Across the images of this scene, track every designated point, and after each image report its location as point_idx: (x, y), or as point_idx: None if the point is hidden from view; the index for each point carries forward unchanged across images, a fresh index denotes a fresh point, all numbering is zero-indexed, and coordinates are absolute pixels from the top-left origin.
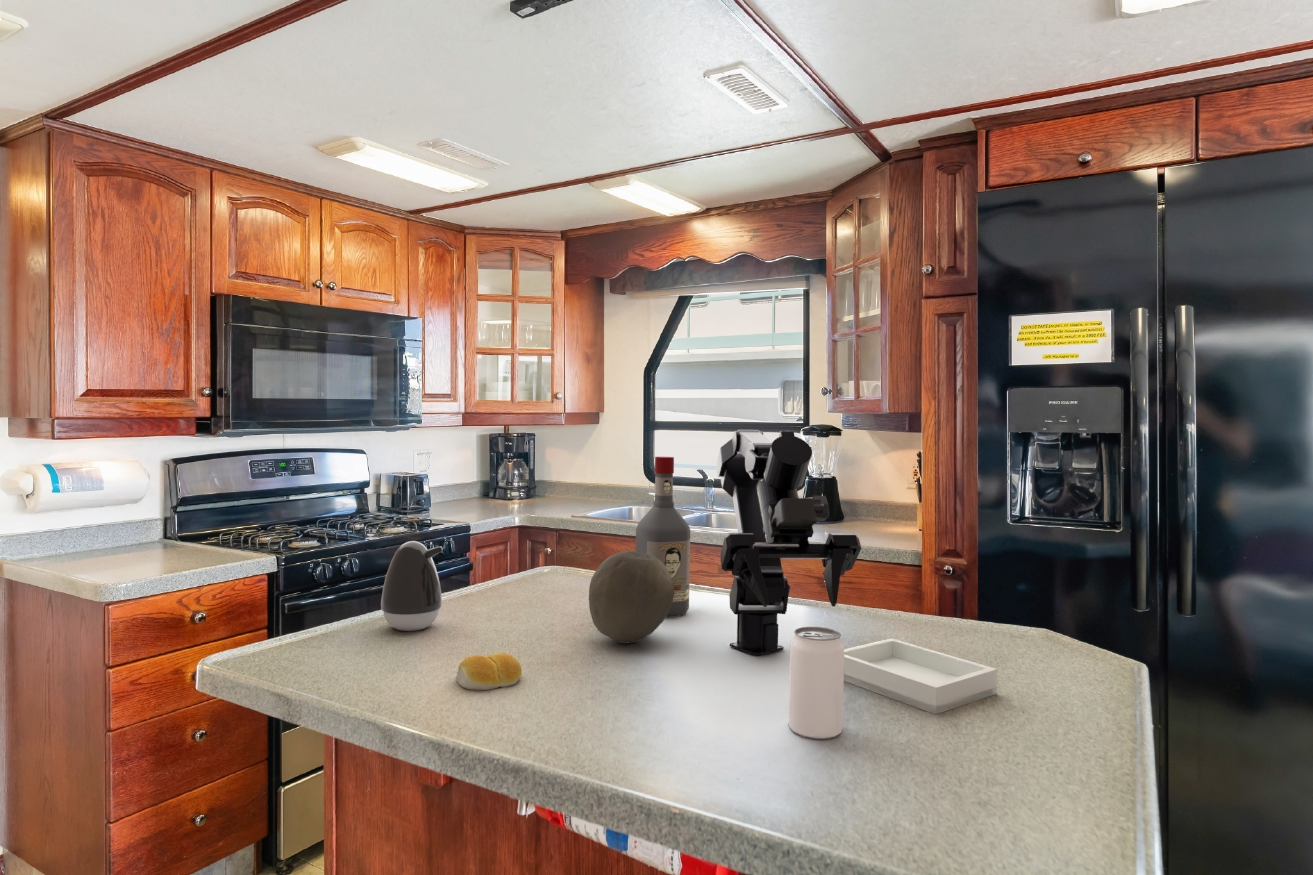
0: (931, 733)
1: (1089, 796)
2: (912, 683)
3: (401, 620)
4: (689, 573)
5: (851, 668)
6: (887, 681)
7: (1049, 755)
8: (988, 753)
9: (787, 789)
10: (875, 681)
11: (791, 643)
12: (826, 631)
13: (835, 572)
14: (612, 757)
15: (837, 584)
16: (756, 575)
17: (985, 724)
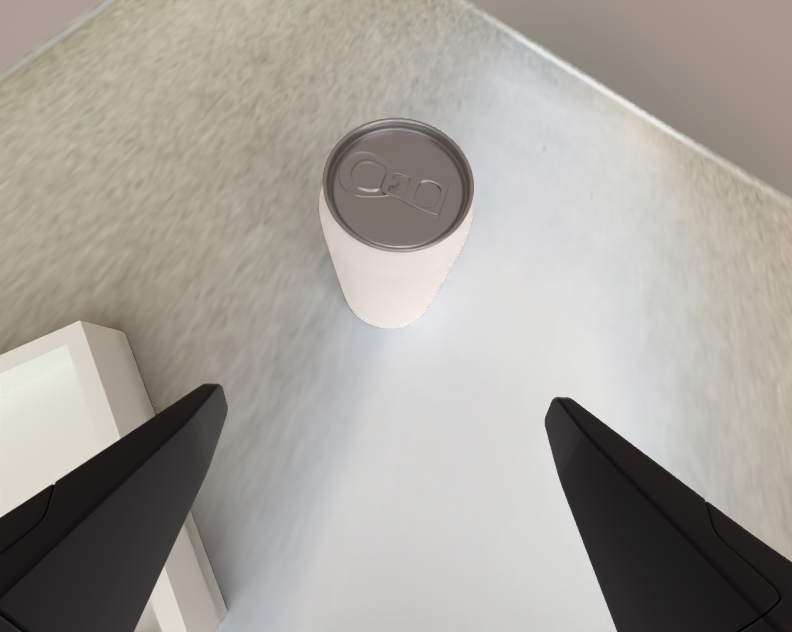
0: (191, 251)
1: (110, 55)
2: (107, 379)
3: None
4: None
5: (181, 559)
6: None
7: (56, 157)
8: (148, 174)
9: (487, 116)
10: None
11: (472, 215)
12: (350, 226)
13: (22, 535)
14: (712, 223)
15: (112, 450)
16: (726, 530)
17: (61, 278)
